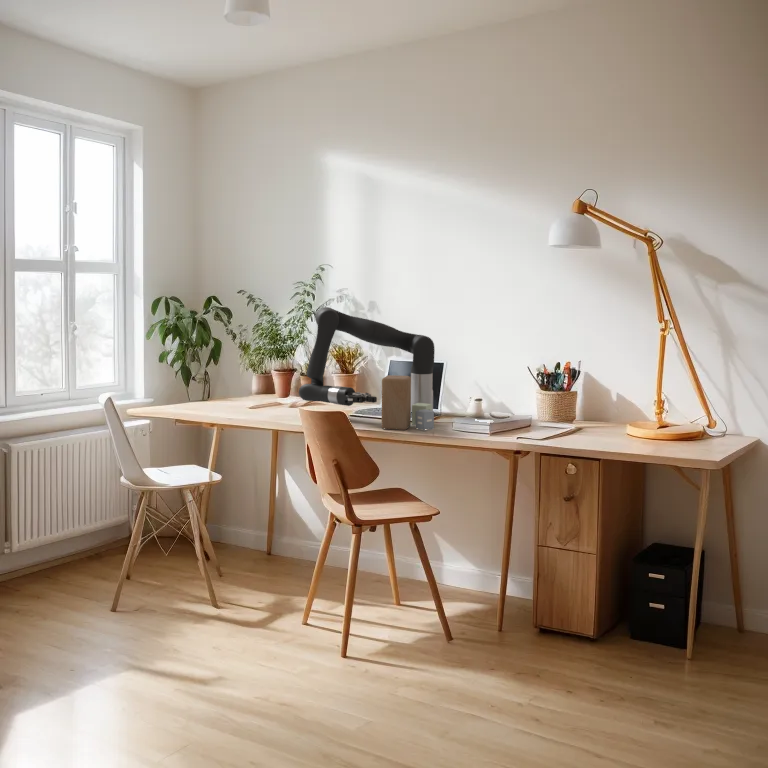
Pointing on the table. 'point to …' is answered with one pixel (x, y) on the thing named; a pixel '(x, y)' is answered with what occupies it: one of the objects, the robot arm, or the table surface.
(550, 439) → the table surface
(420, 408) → the sage block
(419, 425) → the slate block
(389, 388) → the block
